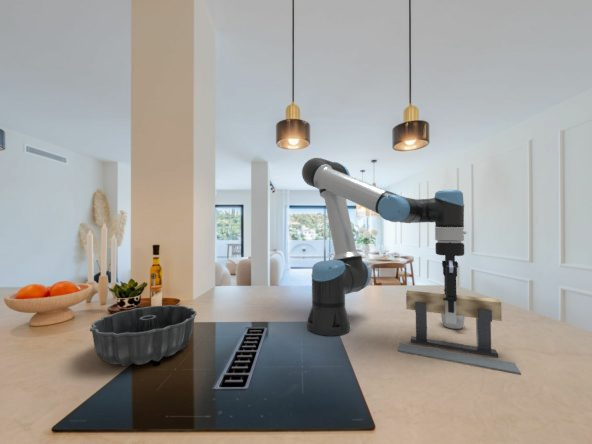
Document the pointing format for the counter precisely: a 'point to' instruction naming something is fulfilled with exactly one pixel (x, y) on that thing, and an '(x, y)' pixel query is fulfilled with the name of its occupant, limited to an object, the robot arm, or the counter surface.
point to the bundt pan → (142, 334)
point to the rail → (463, 304)
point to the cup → (458, 324)
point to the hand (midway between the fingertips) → (450, 320)
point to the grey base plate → (459, 358)
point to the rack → (482, 343)
